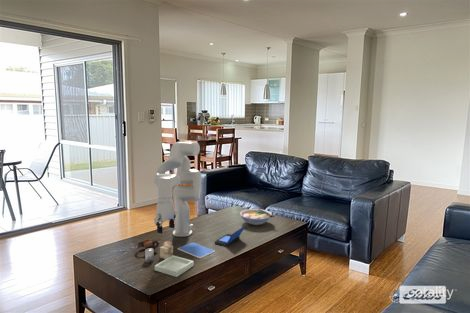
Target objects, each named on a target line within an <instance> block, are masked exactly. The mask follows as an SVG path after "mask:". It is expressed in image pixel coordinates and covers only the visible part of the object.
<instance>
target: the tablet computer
mask: <svg viewBox="0 0 470 313" xmlns="http://www.w3.org/2000/svg"><path fill="white" fill-rule="evenodd" d="M177 250H178V251H180V252H184V253H186V254H188V255H191V256H193V257H195V258H198V259H202V258H205V257H207V256H209V254H210V255H212V254H214V253H215V252H216V250H214V249H212V248H209V247H207V246H203V245H202V244H199V243H196V242H190V243H187V244H185V245H181V246H179V247H178V248H177Z"/></svg>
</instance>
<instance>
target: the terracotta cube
mask: <svg viewBox="0 0 470 313" xmlns="http://www.w3.org/2000/svg"><path fill="white" fill-rule="evenodd" d="M165 244H168V245H171V246H173V241H164V243H163V244H162V246H163V245H165Z"/></svg>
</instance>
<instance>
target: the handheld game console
mask: <svg viewBox="0 0 470 313" xmlns="http://www.w3.org/2000/svg"><path fill="white" fill-rule="evenodd" d="M244 229H246V227H245V226H242V227H241V228H239V229H238V230H236V231H235V232H233V233H232V234H229V233H227V234H225V235H223V236H221V237H220V238H218V239H217V240H215V241H214V244H215V245H219V246H223V247H225V248H226V247H227V248H228V247H229V246H230V245H232V243H234V242H236V241H238V240H240V236H241V234H242V232H243V231H244Z"/></svg>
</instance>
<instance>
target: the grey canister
mask: <svg viewBox="0 0 470 313" xmlns="http://www.w3.org/2000/svg"><path fill="white" fill-rule="evenodd" d="M144 251H145V254H144V255H145V258H144V259H145V263H153V262H154V261H155V258H154V257H155V256H154V253H155V250H154V249H153V248H148V249H146V248H145V250H144Z"/></svg>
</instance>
